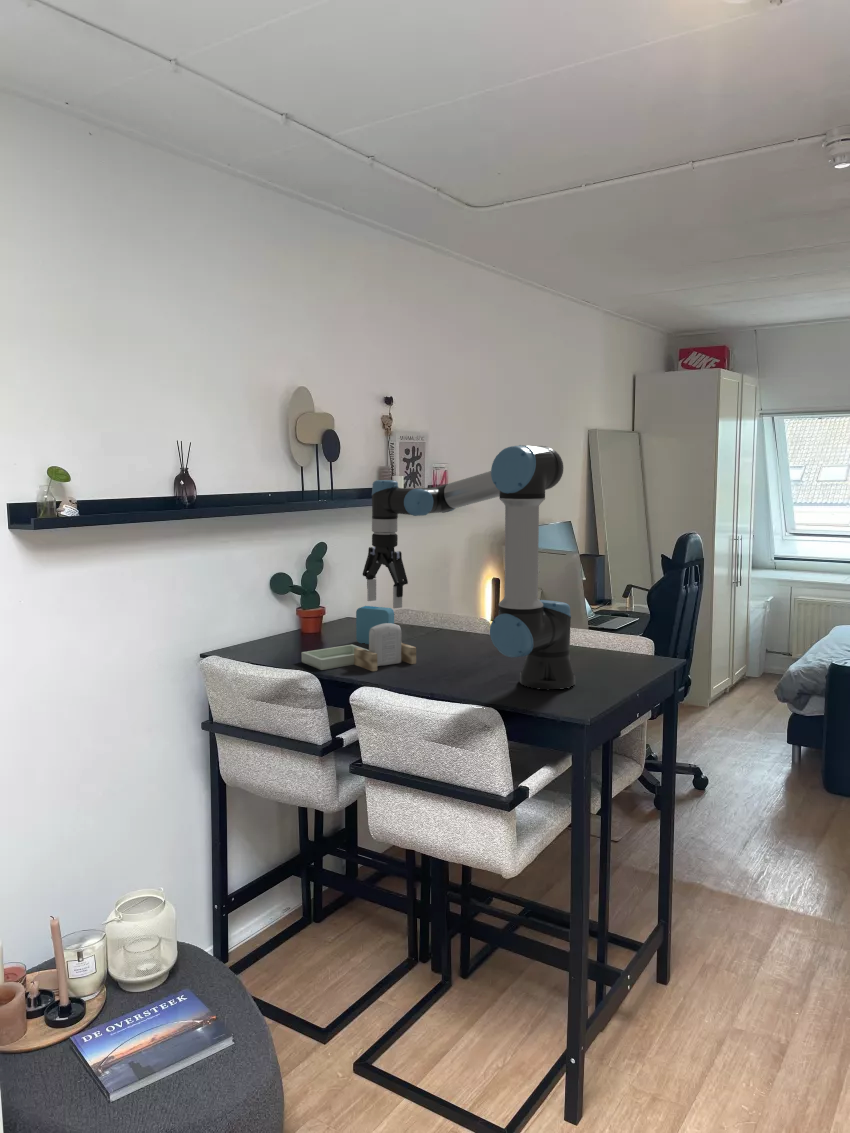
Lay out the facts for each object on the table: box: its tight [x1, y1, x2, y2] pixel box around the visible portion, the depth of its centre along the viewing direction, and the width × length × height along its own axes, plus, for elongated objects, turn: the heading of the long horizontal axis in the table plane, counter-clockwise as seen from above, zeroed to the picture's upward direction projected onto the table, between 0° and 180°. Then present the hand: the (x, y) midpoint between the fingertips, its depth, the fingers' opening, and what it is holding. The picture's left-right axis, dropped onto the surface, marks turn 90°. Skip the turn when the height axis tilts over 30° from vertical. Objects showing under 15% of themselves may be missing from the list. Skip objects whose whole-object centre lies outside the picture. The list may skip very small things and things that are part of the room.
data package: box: [355, 605, 395, 645], centre depth 281 cm, size 12×4×12 cm, turn 66°
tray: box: [301, 643, 369, 671], centre depth 257 cm, size 12×18×3 cm, turn 127°
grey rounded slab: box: [368, 623, 402, 667], centre depth 254 cm, size 10×4×12 cm, turn 123°
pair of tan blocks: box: [353, 642, 417, 672], centre depth 254 cm, size 10×16×5 cm, turn 127°
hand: (384, 604), depth 252 cm, fingers open, 13 cm apart
